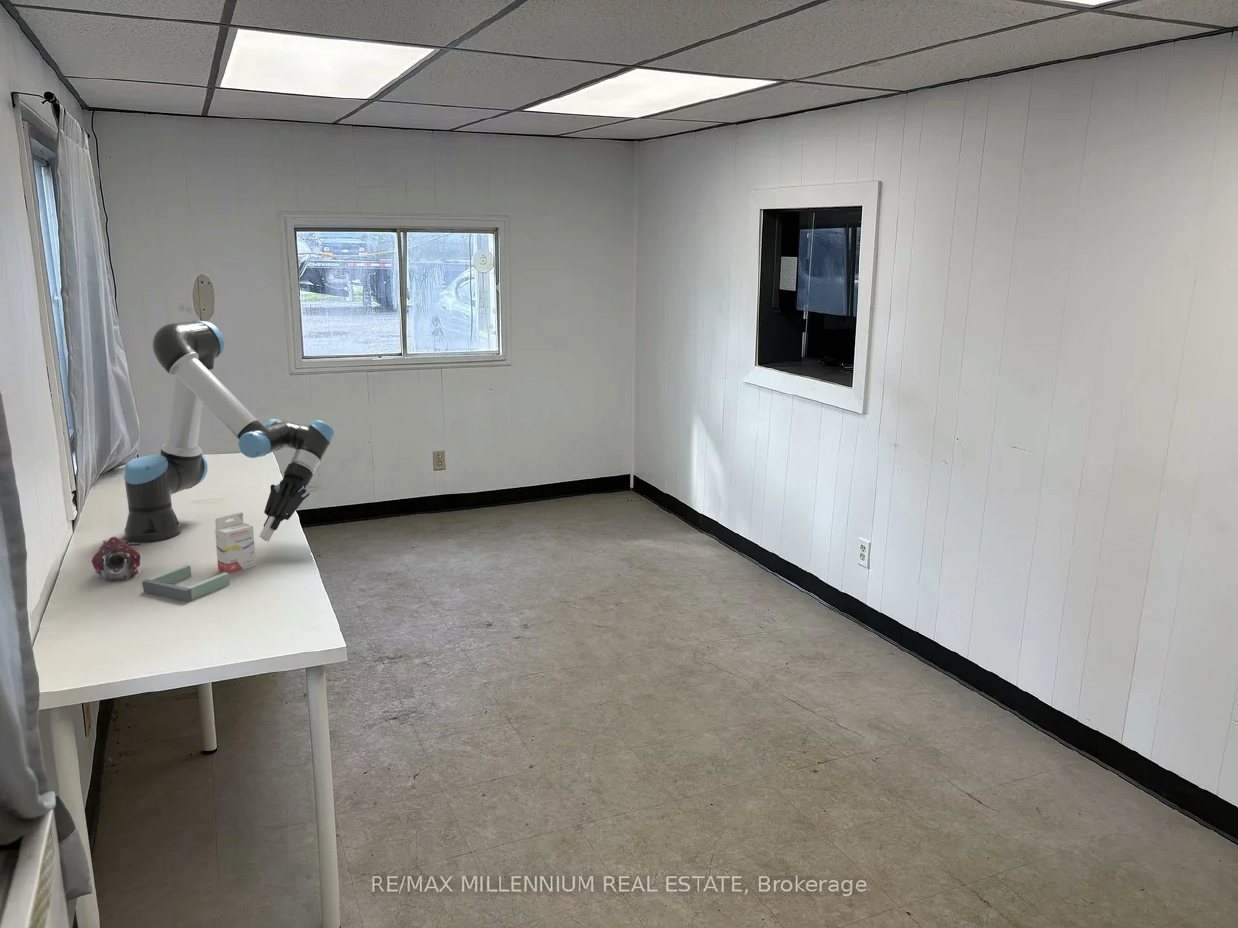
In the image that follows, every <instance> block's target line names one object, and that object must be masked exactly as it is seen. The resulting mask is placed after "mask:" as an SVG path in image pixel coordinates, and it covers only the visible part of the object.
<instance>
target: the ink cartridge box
mask: <svg viewBox="0 0 1238 928" xmlns="http://www.w3.org/2000/svg"><path fill="white" fill-rule="evenodd" d="M229 519H231V520H230V521H228V520H229ZM232 519H233V520H232ZM214 532H215V546H216V556H217V557H216V558H217V569H218V571H221V573H224V572H225V573H229V574H231V573H235V572H238V571H239V572H240V571H243V570H247V569H249V568H253V567H256V552H255V550H256V549H255V537H254V536H255V535H254V525H252V524H249V523H245V522H244V513H243V512H238V513H234V514H230V515H229V514H228V515H226V516H225V515H224V516H221V517H216V518H215V530H214Z"/></svg>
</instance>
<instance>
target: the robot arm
mask: <svg viewBox="0 0 1238 928" xmlns="http://www.w3.org/2000/svg"><path fill="white" fill-rule="evenodd" d="M152 349H153V351H152V352H153V354H154V356H155V357H156V359H157V361H158V363H159V365H160V366H161V367H162V368H163V369H164V370H165V371H166V373H168V374H169V375H170V376H171V377H174V383H173V391H172V392H173V393H172V403H171V410H170V418H169V426H168V435H167V442H165V443H163V444H162V445H161V446H160V447H161V448H160V454H149V455H145V456H139V457H135V458H133V459H131V460H129V461H128V462H127V463H126V464H125V466H124V474H123V475H124V476H123V478H124V483H125V492H126V500H127V508H128V509H127V510H128V515H127V518H126V523H125V528H124V530H123V531H124V533H123V534H124V538H125V539H126V540H127V541H129V542H130V541H131V542H139V543H140V542H141V543H145V542H148V543H149V542H155V541H156V542H157V541H162V540H167V539H170V538H173V537H175V536H178V535H179V534H181V523H180V522H179V519H178V517H177V515H176V513H175V511H174V509H173V505H172V495H173V494H176V493H179V492H181V491H184V490H188V489H189V490H190V489H192V488H194V487H196V486H197V485H199V484H200V483H202V482H203V481H204V479H205V478H206V476H207V474H208V468H209V467H208V462H207V460H205V458H206V457H205V455H204V454H203V449H202V448H201V447H200V446H199V438H200V431H201V422H202V416H203V406H204V405H205V406H206V408H207V409H208V410H210V411H211V413H212V414H213V415H215V417H217V419H218V420H219V421H220V422H221V423H222V424H224V426H225V427H226V428H227V429H228V430H229V431H230V432H231V433H232V434H233V435H234V436H235V437H236V438H237V439H238V448H239V450H240V453H241V454H242V455H244V456H245V457H246V458H250V459H255V458H259V457H260V458H261V457H265V456H266V455H268V454H271V453H273V452H277V451H279V450H280V451H281V450H282V449H285V448H289V449H292V450H295V452H294V454H293V456H292V457H291V459H290V460H289V463H288V465H287V467H286V468H285V470H284V472H283V478H282V479H281V480H280V481H279V483H278V484H276V485H275V484H273V483H272V484H271V485H270V487H269V488H270V493H269V495H268V499H267V502H266V505H265V508H264V510H263V513H264V515H267V518H266V520H265V522H264V524H263V528H262V530H261V532H260V534H259V538H261V539H262V540H263V541H265V542H270V540H271V538H272V536H273V534H274V532H275V531H277V529H278V528H279V526H280V524H281V522H283V521H284V520H286V521H288V520H290V519H291V517H292V516H293V514H294V513H295V512H296V510H297V509H298V508H299V507H300V505H301V504H302V503H303V501H304V500H305V499H307V498H308V497H309V496H310V494H311V493H310V492H309V491H308V490H307V489H306V487H307V486H308V485H309V484H310V482H311V480H312V479H313V476H314V475H313V474H315V472H316V470H317V468H318V467H319V465H320V462H321V460H322V459H323V457H324V454H326V453H325V452H326V451H327V449H328V448H329V446H330V444H331V442H332V439H333V437H334V435H335V431H334V428H333V427H332V425H330V424H328V422H325V421H322V420H320V419H317V420H315V419H314V420H313V421H311V422H310V424H309V425H303V424H299V423H295V422H290V421H287V420H284V419H277V418H271V419H269V420H268V421H267V422H266V423H265V424H264V425H263V424H262V422H260V421H259V420H258V419H257V418H256V417H255V416H254V415H253V414H252V413H251V412H250V411H249V409H248V408H247V407H245V405H243V403H242V402H241V401H240V400H239V399H238V398H237V397H236V396H235V395H234V394H233V393H232V392H231V391H230V390H229V389H228V388H227V387H226V386H225V385H224V384H223V383H222V382H221V381H220V380H219V379H218V378H217V377H216V376H215V375H214V374H213V373H212V372H211V371H213V370H214V366H215V365H214V364H215V359H216V358H219V356H220V355H222V353H223V352H224V349H225V340H224V337H223V334H222V332H221V331H220V330H219V328H218V327H217V326H216V325H215V324H213V323H212V322H209V321H206V320H192V321H187V322H186V321H184V322H177V323H175V322H174V323H167V324H165V325H164V326H163V325H162V326H161V327H160V328H159V329H158V330H157V331H156V332H155V334H154V336H153V339H152Z"/></svg>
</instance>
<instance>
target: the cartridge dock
mask: <svg viewBox="0 0 1238 928" xmlns="http://www.w3.org/2000/svg"><path fill="white" fill-rule="evenodd" d="M191 567H192V566H191V565H190V564H185V565H182V566H179V567H176V568H173V569H171V570H169V571H166V572H162V573H160V574H157V575H155V576H153V577H149V578H147V579H144V580H142V590H143V593H145V594H150V595H154V596H155V595H156V596H160V597H163V598H168V599H173V600H175V601H176V600H178V601H182V602H186V603H188V602H190V601H193V600H195V599H197V598H199V597H202V596H204V595H207V594H210V593H212V592H214V591H216V590H219V589H222V588H224V587H226V586H228V585H230V573H225V572H221V573H220V574H217V575H215V576H211V577H210V578H207V579H205V580H201V581H199V582H197V583H194V584H192V585H190V586H182V585H177V584H175V583H178V582H180V581H182V580H185V579H188V578H191V577H192V571H191V570H192V569H191Z"/></svg>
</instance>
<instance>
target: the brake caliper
mask: <svg viewBox="0 0 1238 928" xmlns="http://www.w3.org/2000/svg"><path fill="white" fill-rule="evenodd" d="M104 557H105V558H104ZM140 562H141V554H140V553H139V552H138V551H137V550H136V549H134V548H133V547H131V546H130V545H129V544H127V543H125V542H124V541H123V540H121V539H120V538H118V537H116V536H111V537H109V539H108V540H107V539H104V540H102V544H101V545H100V547H99V550H98V551H97V552H96V553H95V554H94V555H93V557H92V558H91V563H92V565H93V569H94V570H95V573H96V574H97V575H99V576H101V577H102V579H104V581H105V582H108V583H109V582H117V581H126V580H129V579H130V577H131V576H132V578H133V579H136V578H138V577H140V575H141V572H142V571H141V568H140V565H141V563H140ZM132 574H133V575H132Z"/></svg>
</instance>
